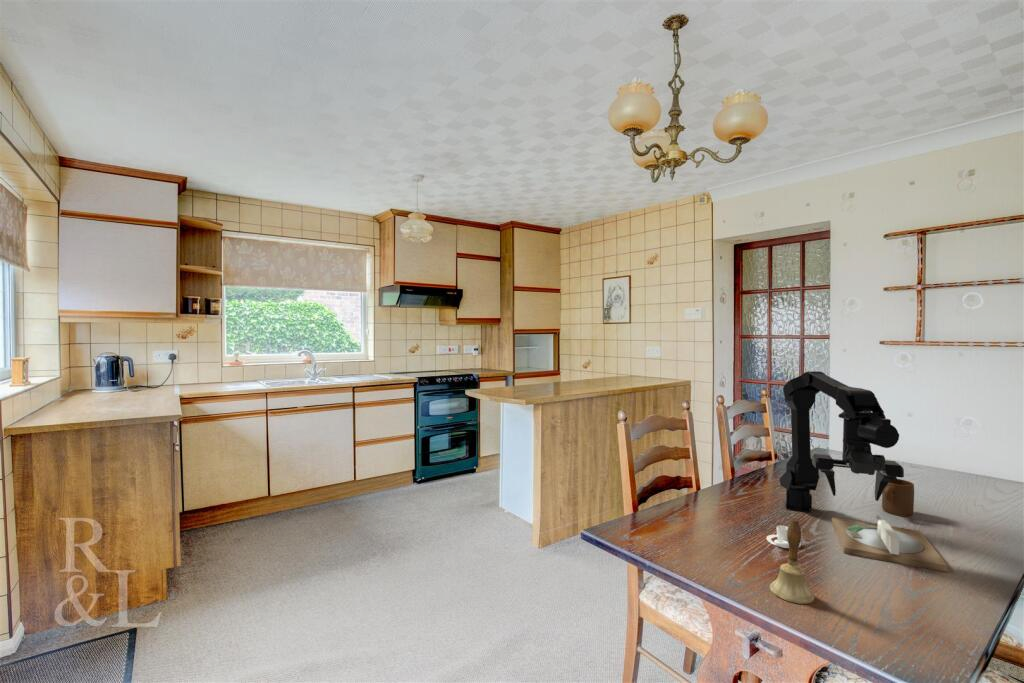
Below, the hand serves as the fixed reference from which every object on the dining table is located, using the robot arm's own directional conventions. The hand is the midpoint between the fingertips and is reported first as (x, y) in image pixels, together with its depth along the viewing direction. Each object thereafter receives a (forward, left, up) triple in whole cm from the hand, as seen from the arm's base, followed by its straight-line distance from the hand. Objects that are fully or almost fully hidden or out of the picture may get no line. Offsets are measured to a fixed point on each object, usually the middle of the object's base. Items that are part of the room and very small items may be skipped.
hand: (855, 497), depth 125 cm
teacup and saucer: (-19, -8, -13) cm, 24 cm away
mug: (+15, +30, -13) cm, 36 cm away
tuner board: (+7, +3, -12) cm, 15 cm away
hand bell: (-16, -34, -13) cm, 39 cm away
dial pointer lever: (+7, +1, -11) cm, 13 cm away
